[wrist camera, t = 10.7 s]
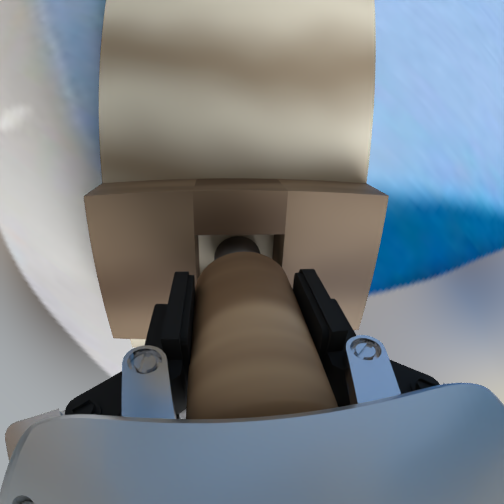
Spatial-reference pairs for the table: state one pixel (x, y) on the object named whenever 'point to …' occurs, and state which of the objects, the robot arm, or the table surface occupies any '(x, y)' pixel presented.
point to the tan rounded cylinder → (251, 341)
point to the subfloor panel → (233, 146)
